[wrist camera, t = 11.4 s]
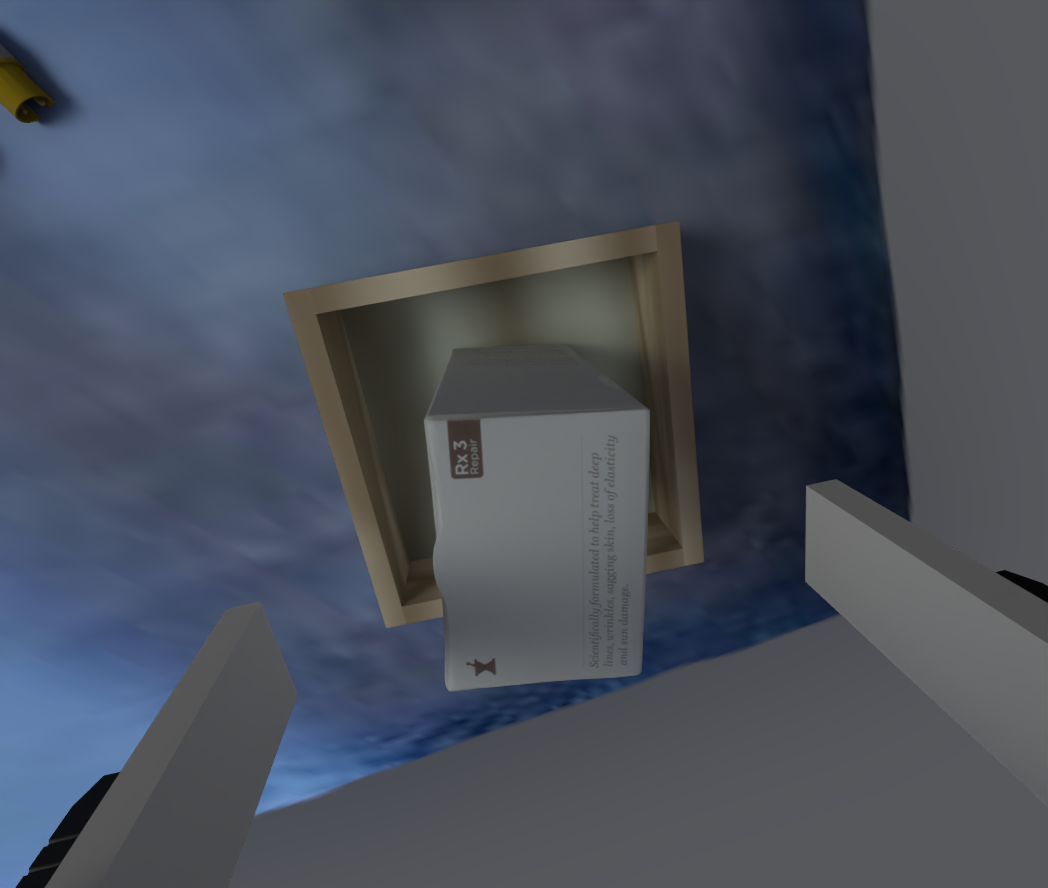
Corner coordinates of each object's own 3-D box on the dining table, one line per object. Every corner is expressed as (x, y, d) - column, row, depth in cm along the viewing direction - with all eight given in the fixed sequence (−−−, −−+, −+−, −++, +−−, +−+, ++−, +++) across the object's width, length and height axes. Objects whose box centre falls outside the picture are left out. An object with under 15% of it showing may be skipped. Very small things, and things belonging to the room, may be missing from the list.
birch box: (398, 572, 31) (386, 628, 27) (316, 287, 26) (282, 293, 21) (668, 517, 32) (704, 562, 27) (641, 228, 27) (679, 220, 22)
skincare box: (566, 488, 30) (655, 690, 16) (455, 496, 29) (444, 711, 15) (565, 333, 27) (670, 408, 13) (442, 338, 27) (416, 422, 13)
